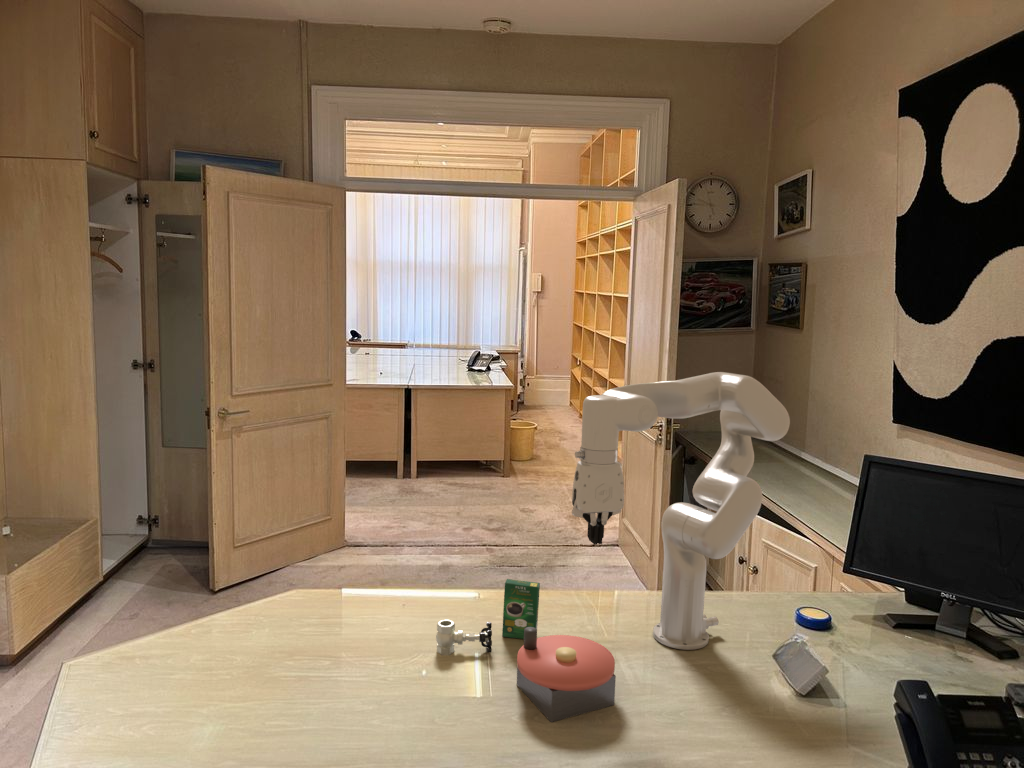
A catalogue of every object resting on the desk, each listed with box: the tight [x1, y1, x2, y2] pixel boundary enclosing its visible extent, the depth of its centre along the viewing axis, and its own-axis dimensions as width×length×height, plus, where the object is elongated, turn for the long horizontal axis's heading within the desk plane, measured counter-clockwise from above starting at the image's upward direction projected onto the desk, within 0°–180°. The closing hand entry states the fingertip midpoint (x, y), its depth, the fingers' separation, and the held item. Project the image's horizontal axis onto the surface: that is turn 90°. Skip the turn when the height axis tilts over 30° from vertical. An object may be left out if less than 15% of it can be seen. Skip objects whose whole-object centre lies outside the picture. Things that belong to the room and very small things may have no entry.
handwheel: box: [516, 627, 616, 691], centre depth 143 cm, size 19×19×5 cm
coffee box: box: [501, 578, 541, 640], centre depth 167 cm, size 8×3×13 cm, turn 79°
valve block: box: [516, 665, 617, 723], centre depth 144 cm, size 14×14×6 cm
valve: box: [435, 619, 493, 656], centre depth 160 cm, size 7×7×12 cm
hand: (595, 541), depth 153 cm, fingers closed
